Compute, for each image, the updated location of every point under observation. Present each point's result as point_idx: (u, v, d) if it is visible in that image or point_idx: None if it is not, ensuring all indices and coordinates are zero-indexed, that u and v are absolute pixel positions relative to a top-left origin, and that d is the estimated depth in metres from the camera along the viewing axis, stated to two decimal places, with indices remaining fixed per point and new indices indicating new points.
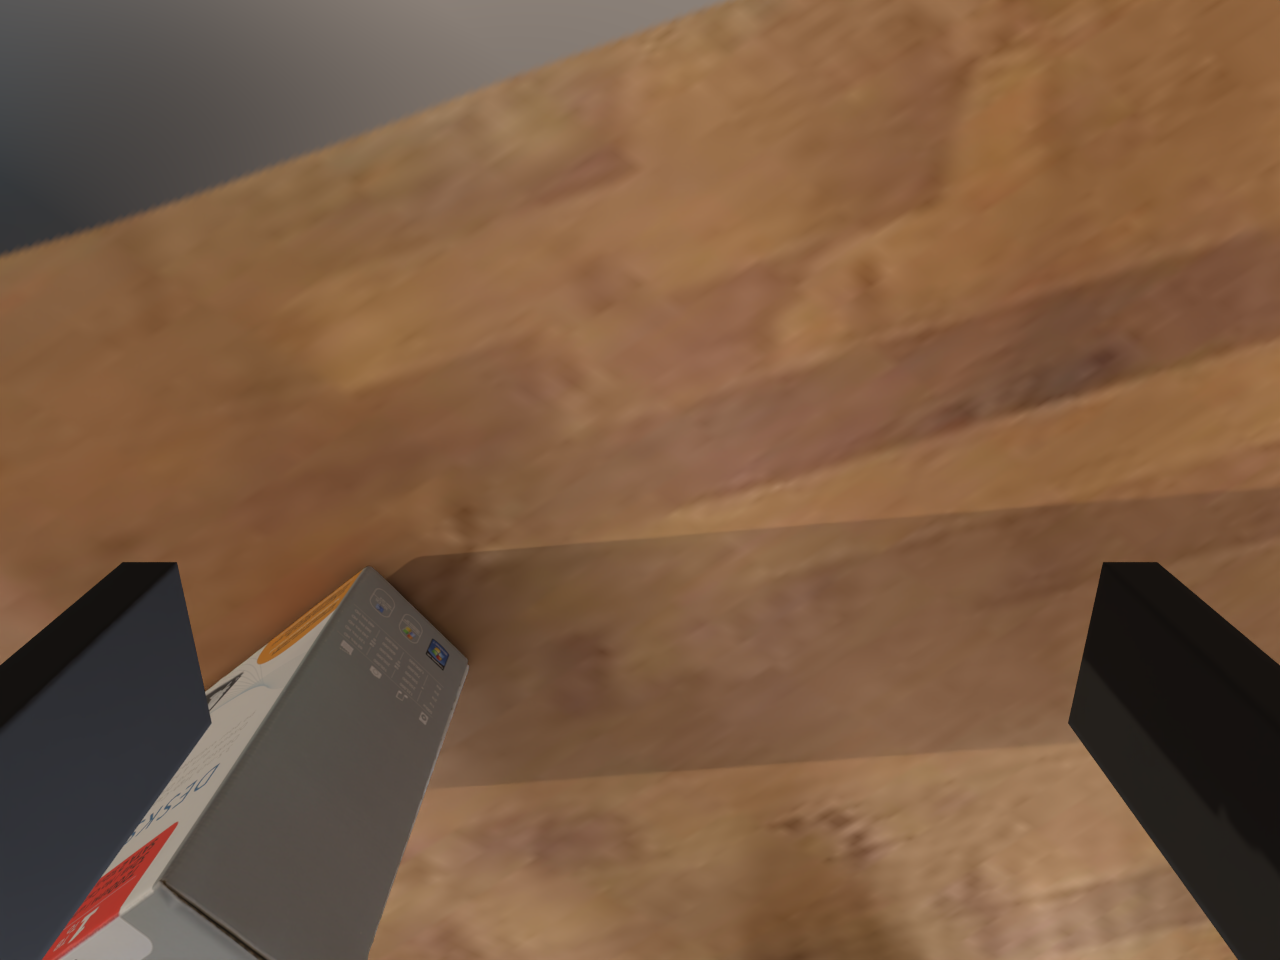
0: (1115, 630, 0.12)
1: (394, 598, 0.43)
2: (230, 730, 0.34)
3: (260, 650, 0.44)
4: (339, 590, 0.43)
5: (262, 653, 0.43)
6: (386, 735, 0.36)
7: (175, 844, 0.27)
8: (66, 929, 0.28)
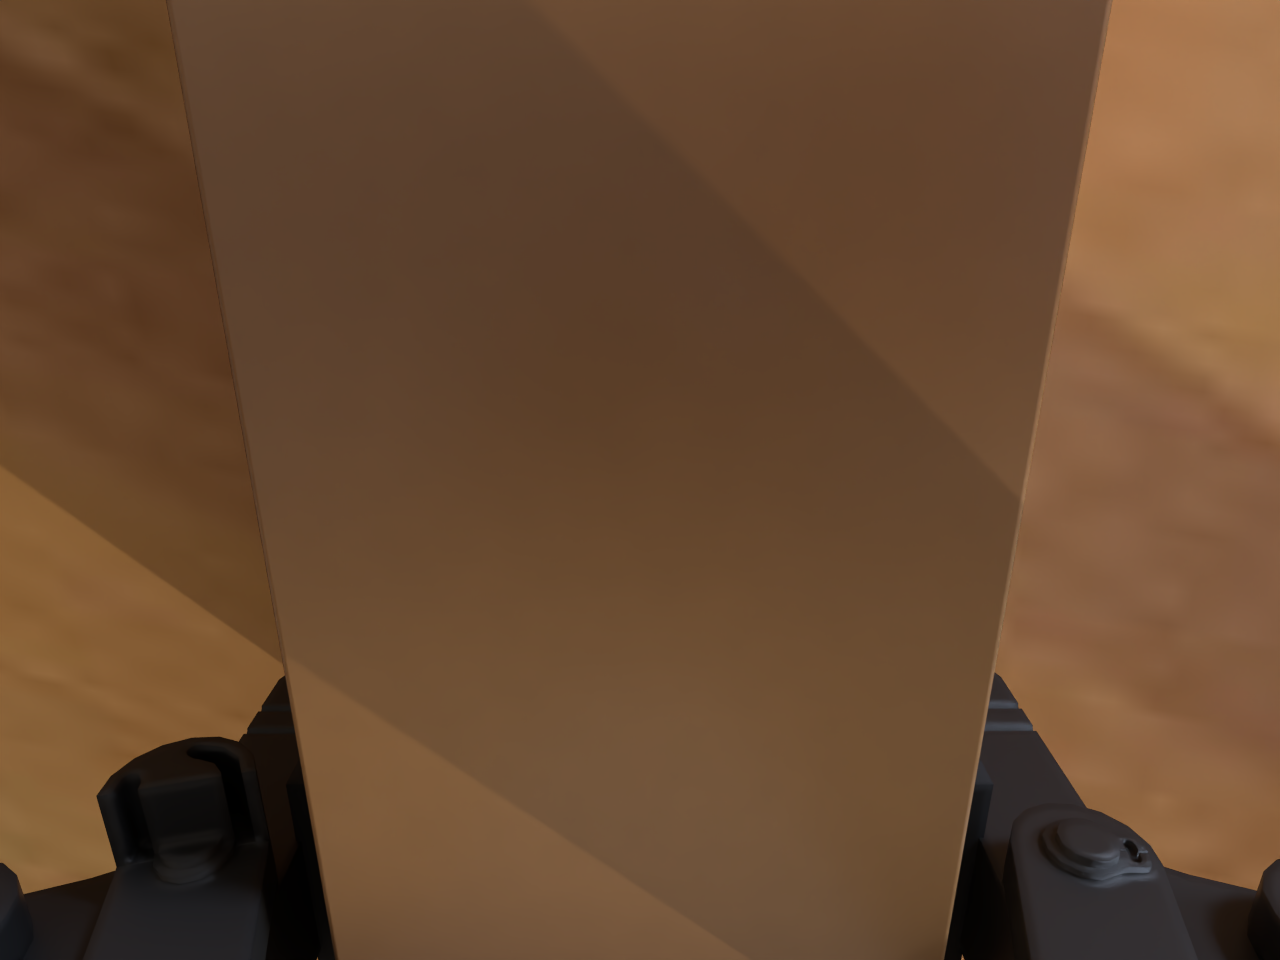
0: None
1: None
2: None
3: None
4: None
5: None
6: None
7: None
8: None
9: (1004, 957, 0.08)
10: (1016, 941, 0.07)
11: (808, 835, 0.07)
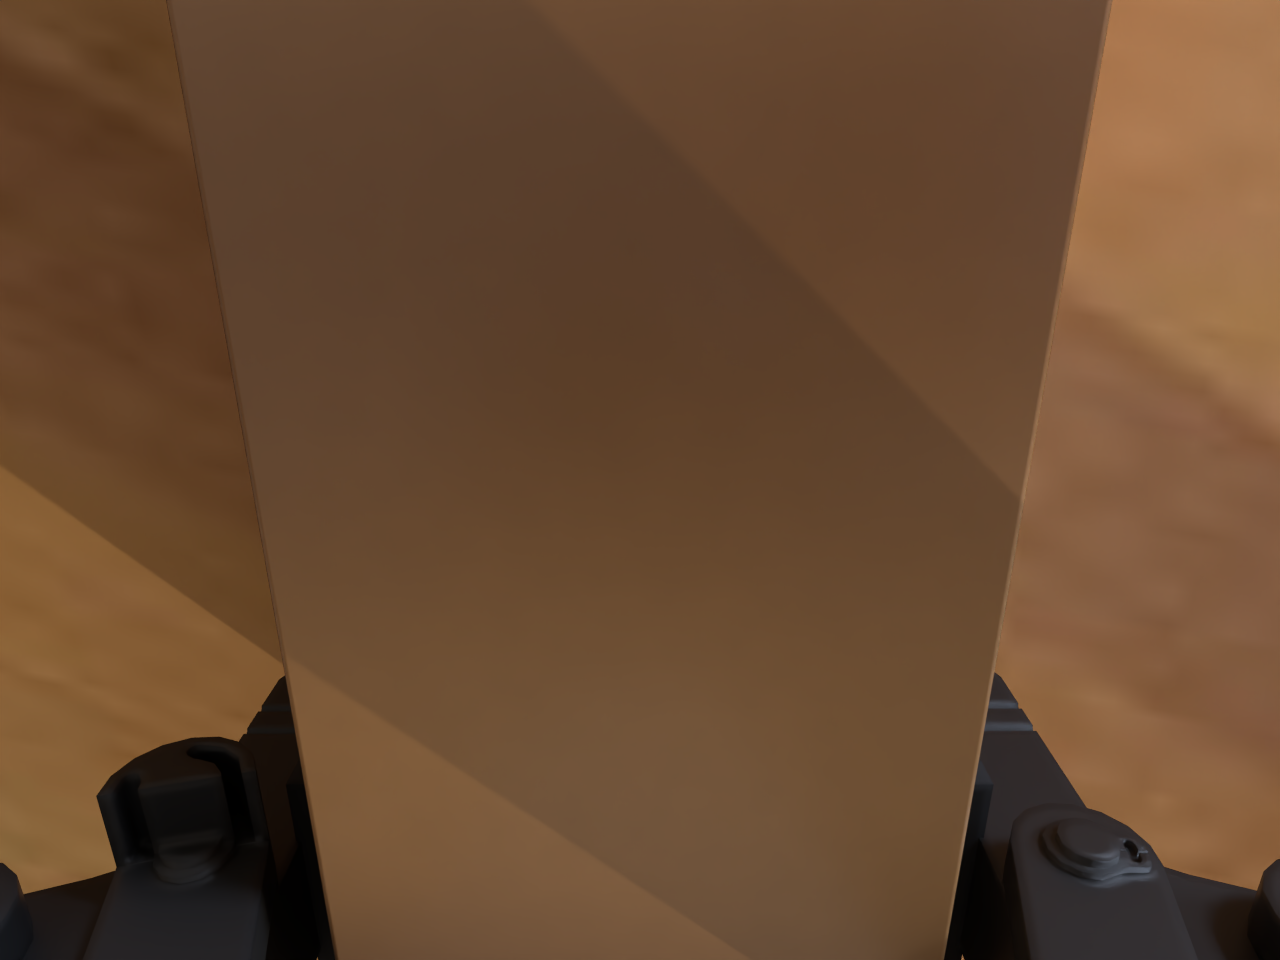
0: None
1: None
2: None
3: None
4: None
5: None
6: None
7: None
8: None
9: (1004, 957, 0.08)
10: (1016, 941, 0.07)
11: (808, 835, 0.07)
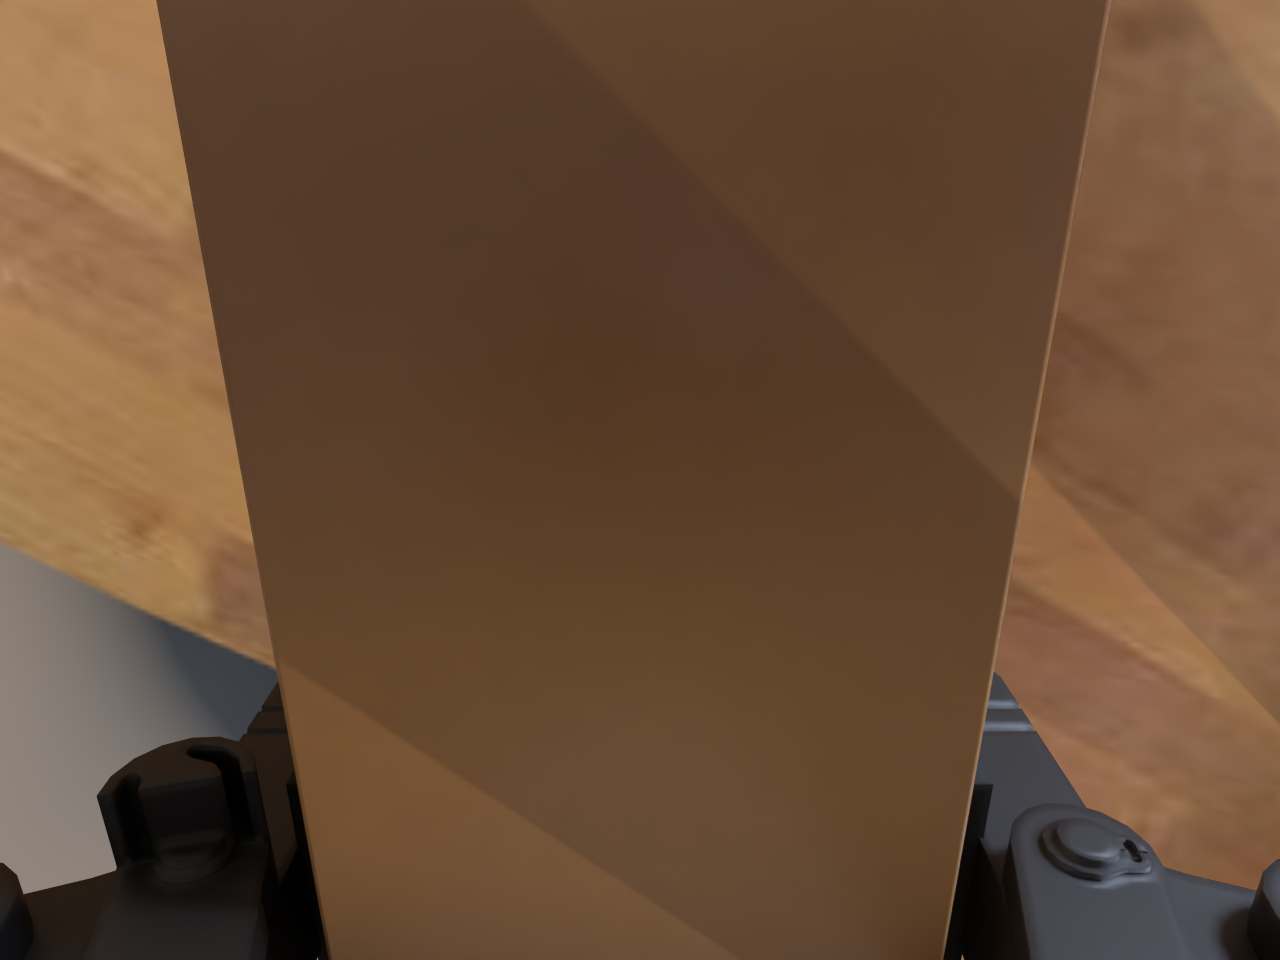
0: None
1: None
2: None
3: None
4: None
5: None
6: None
7: None
8: None
9: (1004, 957, 0.08)
10: (1016, 941, 0.07)
11: (805, 834, 0.07)
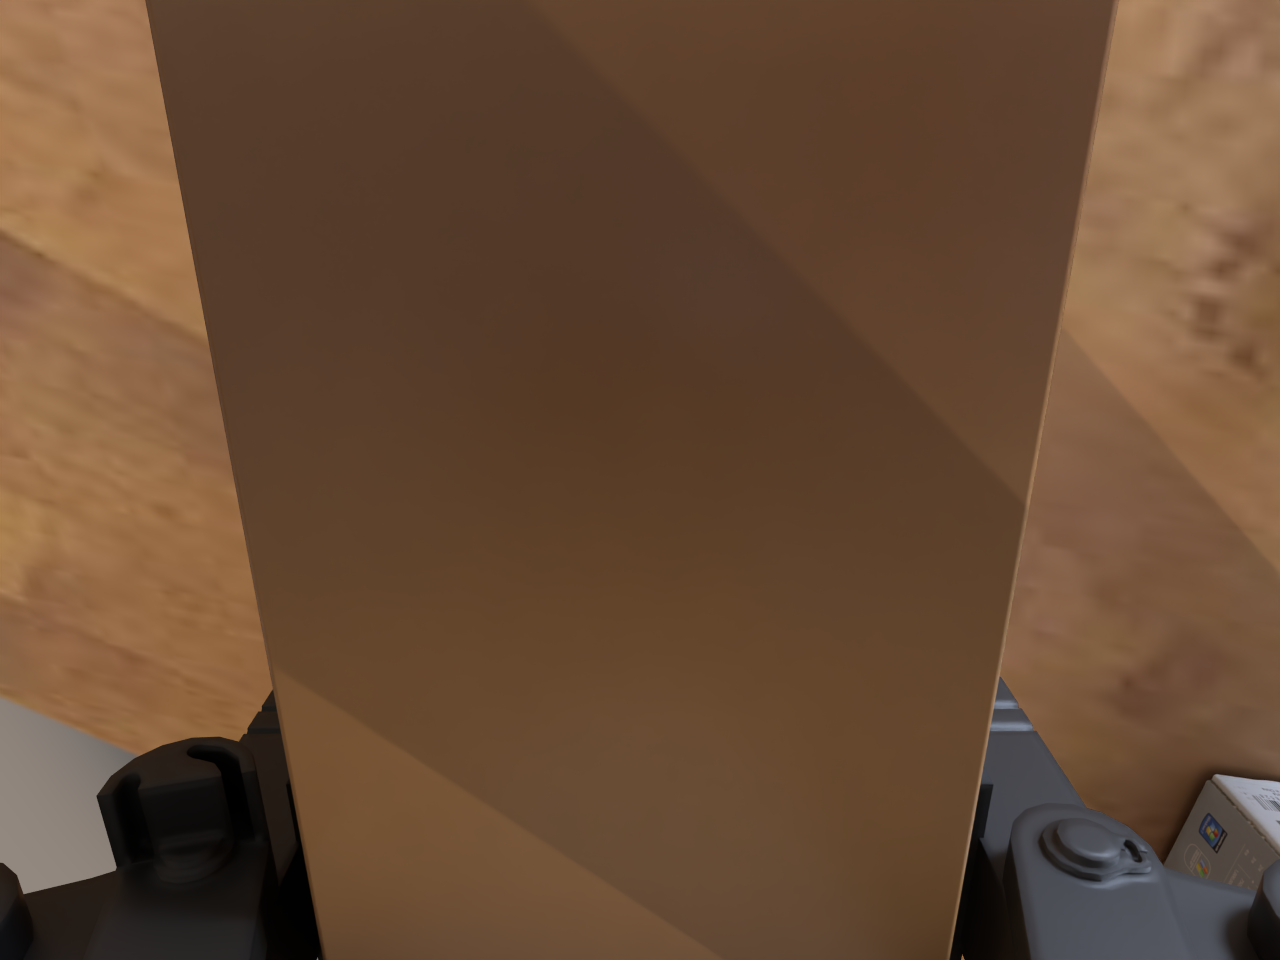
0: None
1: None
2: None
3: None
4: None
5: None
6: None
7: None
8: None
9: (1004, 957, 0.08)
10: (1016, 941, 0.07)
11: (807, 837, 0.07)
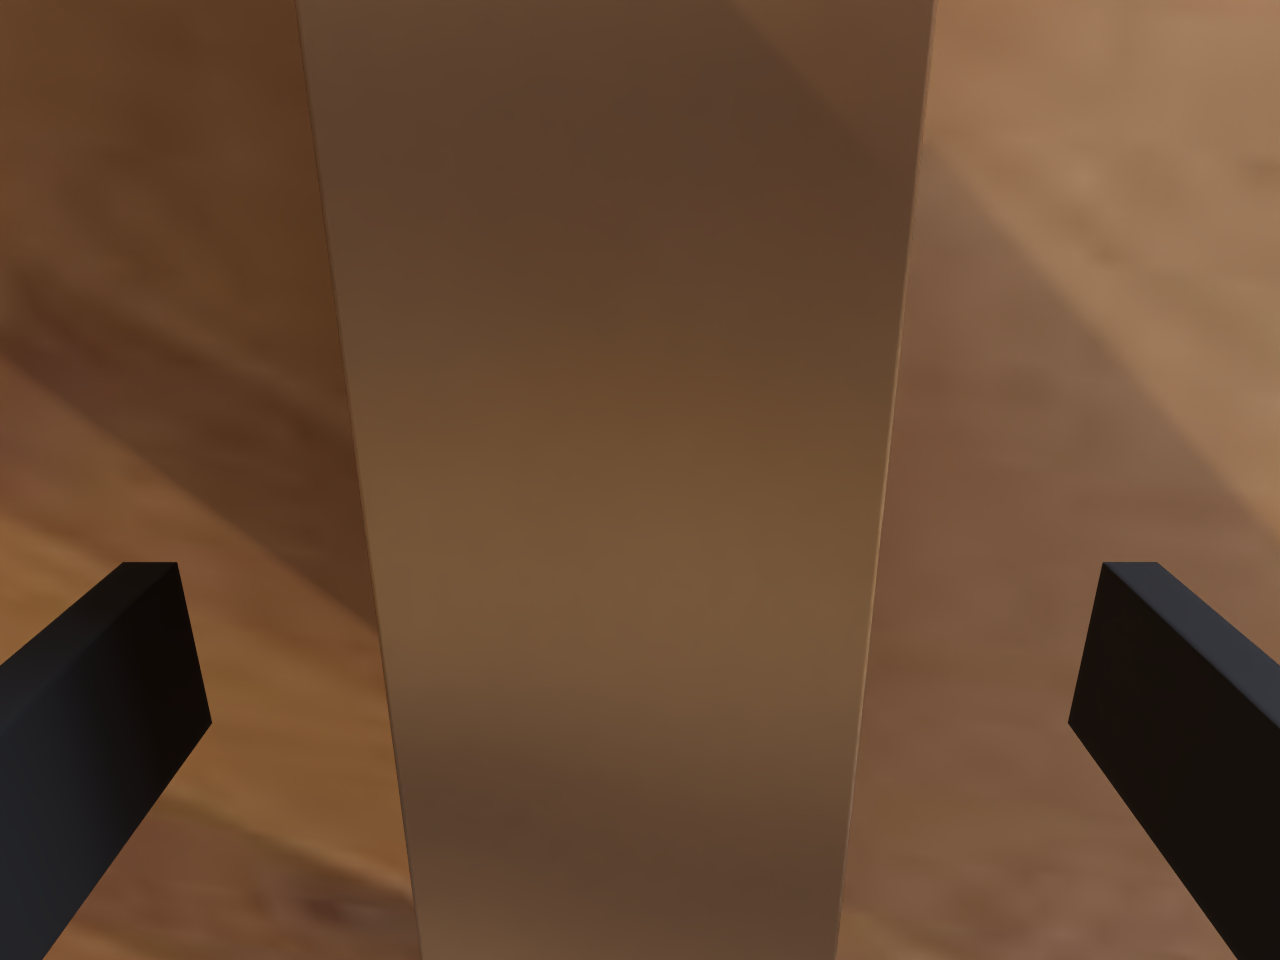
0: (1115, 630, 0.12)
1: None
2: None
3: None
4: None
5: None
6: None
7: None
8: None
9: None
10: None
11: (751, 628, 0.09)
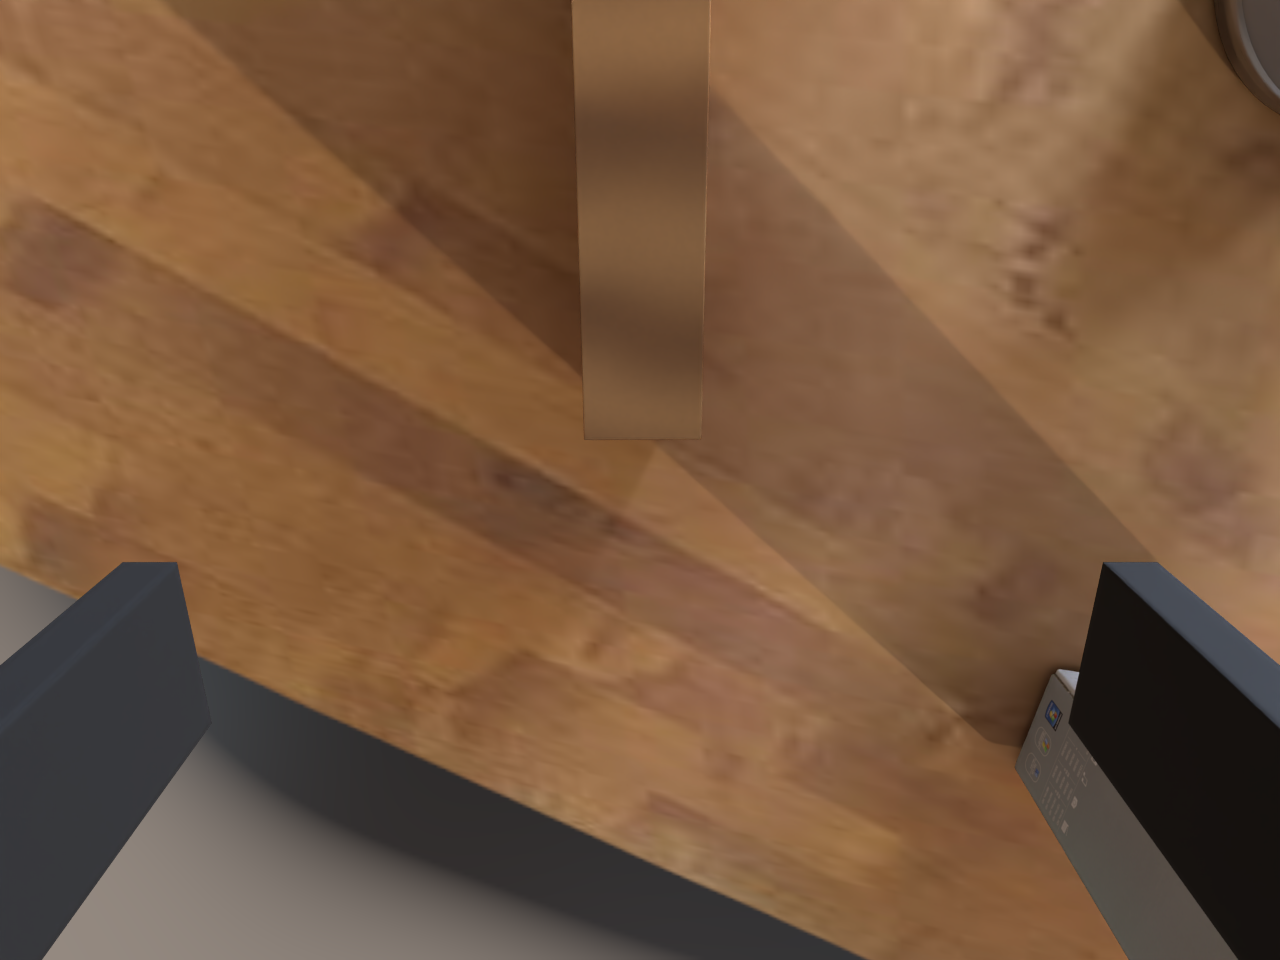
0: (1115, 630, 0.12)
1: (1028, 751, 0.53)
2: None
3: None
4: None
5: None
6: (1109, 814, 0.44)
7: None
8: None
9: None
10: None
11: (674, 254, 0.35)
